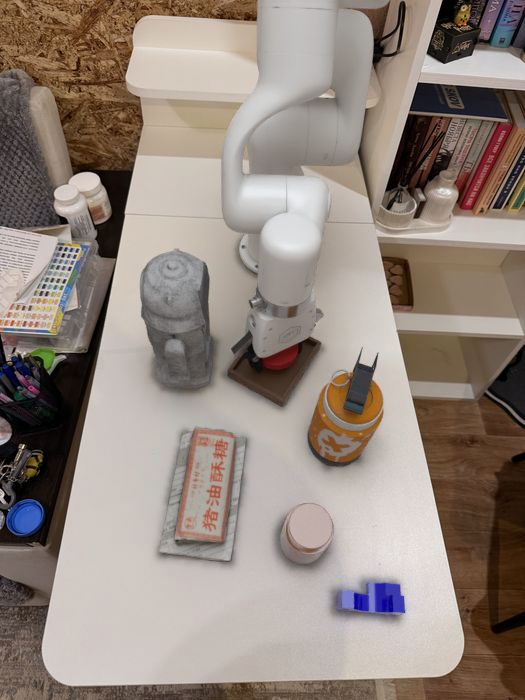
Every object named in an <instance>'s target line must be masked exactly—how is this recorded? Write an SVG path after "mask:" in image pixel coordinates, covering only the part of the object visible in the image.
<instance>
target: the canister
mask: <svg viewBox="0 0 525 700" xmlns="http://www.w3.org/2000/svg"><path fill="white" fill-rule="evenodd" d="M363 348H364V347H363V346H361V348H360V352H359V354H358V357H357V359H356V362H355V364H354V367H353V368H352V371H348V370H347V369H343V368H339V369H337V370H335V371H334V372H332V374H331V375H330V381H329V382H328V383H327V384H325V385H324V386H323V388H322V390H321V391H320V392H319V396H318V398H317V402H316V404H315V407H314V411H313V415H312V417H311V421H310V424H309V426H308V430H307V443H308V446H309V449H310V450H311V452H312V454H313V455H314V456H315V457H316V458H317V459H318V460H319V461H321V462H322V463H325V464H327V465H330V466H332V467H333V466H334V467H344V466H347V465H351V464H352V463H354V462H355V461H357V460H358V459H359V457H361V455H362V454H363V452H364V450H365V449H366V447H367V445H368V444H369V442H370V441H371V439H372V438H373V436H374V434H375V432H376V431H377V429H378V428H379V426H380V425H381V422H382V420H383V418H384V413H385V411H384V410H385V409H384V406H385V399H384V394H383V392H382V390H381V387H379V385H378V383H377V382H376V381H375V380H374V379H373V378H374V374H375V371H376V369H377V364H378V360H379V359H378V358H379V351H377V352H376V355H375V358H374V360H373V363H372V365H371V366H370V365H366V364H364V363H361V362H360V361H361V356H362V352H363ZM339 372H343V373H340V374H338V375H336V376H335V374H337V373H339ZM334 376H335V377H334Z"/></svg>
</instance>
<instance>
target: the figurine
mask: <svg viewBox="0 0 525 700" xmlns="http://www.w3.org/2000/svg"><path fill="white" fill-rule="evenodd" d="M210 282H211V281H210V273H209V268H208V265H207V263H206V262H205V261H204V260H202V259H200V258H198V257H196V256H194V255H193V254H190V253H189V252H186V251H181V250H180V249H179V248H177V247H175V248H173V250H171V251H166V252H163V253H160V254H157V255H156V256H154V257H152V258H151V259H150V260H149V261H148V262H147V263H146V265H145V266H144V268H143V269H142V271H141V273H140V276H139V295H140V296H139V298H140V302H141V303H140V304H141V309H140V317H141V318H142V320H143V321H144V324H145V329H146V334H147V338H148V341H149V343H150V345H151V347H152V350H153V355H154V356H155V359H156V364H155V368H154V373H155V376H156V378H157V379H158V381H159V382H160V383H161V384H162V385H164V387H167V388H180V389H181V388H182V389H201V388H203V387H206V386H208V385H211V377H212V367H213V357H214V350H215V348H214V347H215V340H214V337H213V336H212V335H211V327H210V325H211V324H210V323H211V321H210V304H209V299H210V298H209V296H210Z"/></svg>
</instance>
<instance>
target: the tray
mask: <svg viewBox="0 0 525 700" xmlns="http://www.w3.org/2000/svg"><path fill="white" fill-rule="evenodd" d="M321 345H322V341H320V340H318V339H316V338H314V337H313V336H310V337H308V338H307V339H305V340H304V342H303V347H302V351H301V353H300V354H297V358H296V359H295V361H294V363H293V364H292V365H290V367H287V368H285V369H281V370H273V369H269V368H266V367H264V366H262V371H261V372H259V373H258V372H257V371H256V369H255V367H254V368H251V366H250V364H249V362H248V359H244V358H243V357H237V356H236V358H235V359H234V361H233V362H232V363H231V365H230V366H229V367H228V369H227V377H229V378H230V379H232V380H233V381H236V382H237V383H238V384H241V385H243V386H244V387H246V388H248V389H250V390H252V392H255V393H257V394H259V396H261V397H263V398H265V399H267V400H269V401H271V402H273V403H274V404H276V405H278V406H280V407H284V405H285V403H287V401H288V399H289V397H291V395H292V393H293V391H294V390H295V388H296V386H297V385H298V383H299V382H300V381H301V379H302V377H303V376H304V374H305V373H306V371H307V370H308V368H309V366H310V364H311V363H312V361H313V360H314V359H315V357H316V355H317V354H318V352H319V350H320V349H321Z"/></svg>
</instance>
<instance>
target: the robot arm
mask: <svg viewBox="0 0 525 700" xmlns="http://www.w3.org/2000/svg"><path fill="white" fill-rule="evenodd" d="M390 2H391V0H257V5H256V6H257V10H256V11H257V12H256V65H257V71H258V78H257V83H256V86H255V87H254V89H253V90H252V92H251V93H250V94H249V95H248V97H247V98H246V99H245V100H244V102H243V103H242V104H241V105H240V107H239V108H238V110H237V111H236V112H235V114H234V116H233V117H232V119H231V120H230V123H229V124H228V127H227V130H226V133H225V135H224V139H223V142H222V143H223V144H222V148H221V158H220V159H221V161H220V163H221V164H220V171H221V172H220V174H221V175H220V176H221V177H220V181H221V182H220V190H221V191H220V193H221V195H220V199H221V200H220V201H221V203H220V204H221V214H222V219H223V222H224V223H225V225H226V227H227V228H228V229H230V230H231V231H232V232H235V233H237V234H244V235H243V237H242V238H241V239H240V242H239V248H238V249H239V250H238V251H239V257H240V259H241V260H240V261H242V263H243V264H244V266H245V267H246V268H248V270H250V271H251V272H253V273H256V274H257V283H256V287H255V295H254V296H253V297H252V298H250V299H249V300H248V305H249V309H248V312H247V317H246V323H245V334H244V335H243V336H242V337H241V338H240V340H238V341H237V342H236V343H235V344H234V345H233V346H232V347H231V348H230V350H231V352H232V354H233V356H234V357H236V358H237V357H243V358H244V359H248V362H249V364H250V366H251V368H254V367H255V369H256V371H257V372H258V373H259V372H261V371H262V364H263V360H262V358H264V357H268V356H271V355H273V354H275V353H278V352H280V351H282V350H284V349H286V348H289V347H291V346H293V345H295V344H297V343H298V354H300V353H301V351H302V347H303V342H304V340H305V339H307V338H308V337H312V335H313V333H314V330H315V327H316V326H317V324H316V323H318V322H319V321H321V319H322V318H323V317H324V316H325V315H324V312H323V311H322V310H321V308H318V307H317V301H316V297H315V292H314V291H313V288H314V283H315V277H316V274H317V269H318V263H319V260H320V259H319V258H320V254H321V250H322V244H323V236H324V232H325V229H326V223H327V222H328V220H329V217H330V214H331V208H332V199H333V197H332V191H331V190H330V188H329V185H328V182H327V181H326V180H324V179H323V178H321V177H318V176H314V175H305V173H304V170H303V168H302V167H305V166H307V167H308V166H309V167H310V166H311V167H342V166H343V167H344V166H347V165H350V164H351V163H352V162H354V160H355V159H356V157H357V155H358V153H359V149H360V146H361V141H362V135H363V129H364V122H365V115H366V108H367V101H368V94H369V87H370V80H371V73H372V67H373V57H374V43H375V42H374V31H373V30H374V29H373V25H372V23H371V20H370V18H369V17H368V16H367V15H366V14H365V13H363V12H362V11H360V10H357V9H366V10H368V9H369V10H379V9H381V8H384V7H385V6H387V5H388V4H389V3H390ZM329 90H332V91H333V92H334V97H322V96H323V95H324V94H326V93H327V92H328V91H329ZM246 149H247V156H248V157H247V159H248V173H244V170H243V167H244V156H245V151H246Z"/></svg>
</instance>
